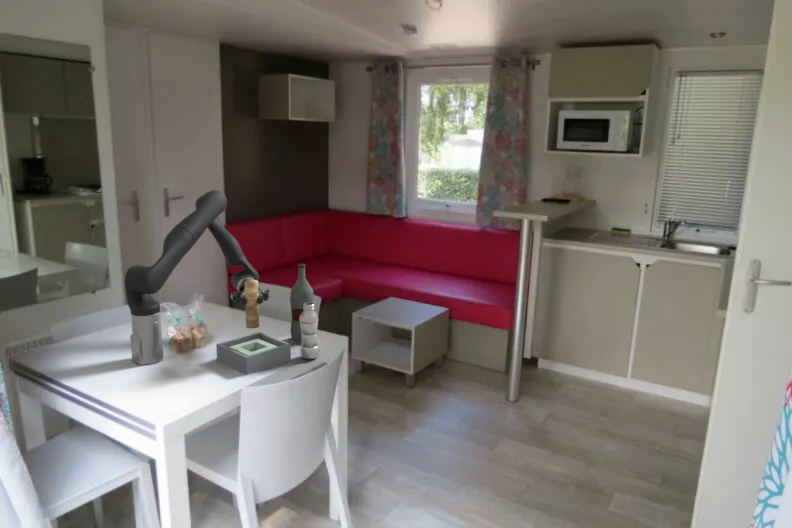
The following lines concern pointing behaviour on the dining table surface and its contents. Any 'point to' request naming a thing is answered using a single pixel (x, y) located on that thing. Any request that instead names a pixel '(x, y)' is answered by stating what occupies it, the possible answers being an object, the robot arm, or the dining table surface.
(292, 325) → the vodka
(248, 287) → the peg
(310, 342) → the plastic bottle
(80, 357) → the dining table surface
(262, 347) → the plate
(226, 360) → the box
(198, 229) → the robot arm
